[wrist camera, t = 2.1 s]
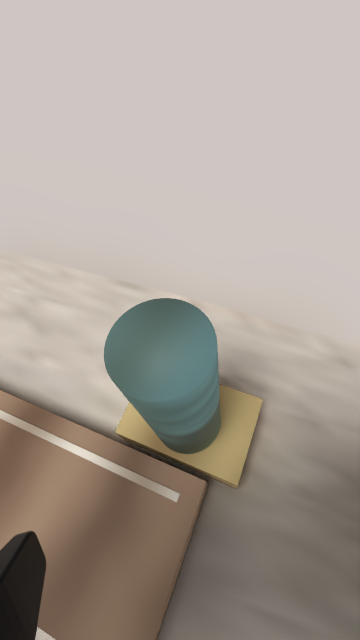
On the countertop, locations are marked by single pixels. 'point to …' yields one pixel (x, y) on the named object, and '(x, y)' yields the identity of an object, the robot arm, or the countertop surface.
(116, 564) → the board
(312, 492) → the countertop surface
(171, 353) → the teal column with base
